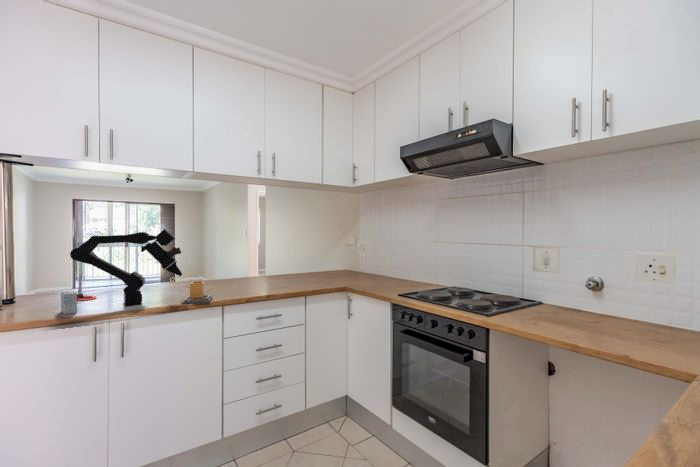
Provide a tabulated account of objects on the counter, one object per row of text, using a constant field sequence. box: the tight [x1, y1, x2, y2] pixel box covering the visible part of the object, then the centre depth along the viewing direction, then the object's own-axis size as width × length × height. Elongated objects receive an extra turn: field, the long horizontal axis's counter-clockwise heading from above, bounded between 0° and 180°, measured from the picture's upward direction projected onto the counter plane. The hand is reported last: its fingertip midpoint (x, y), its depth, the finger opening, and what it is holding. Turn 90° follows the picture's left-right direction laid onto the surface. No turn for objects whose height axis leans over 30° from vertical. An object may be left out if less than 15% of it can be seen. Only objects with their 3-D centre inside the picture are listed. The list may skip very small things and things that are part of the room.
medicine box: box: [60, 290, 78, 315], centre depth 140 cm, size 8×4×9 cm, turn 48°
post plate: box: [180, 294, 213, 305], centre depth 165 cm, size 12×12×5 cm
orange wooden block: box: [189, 280, 206, 299], centre depth 165 cm, size 6×6×8 cm
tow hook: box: [77, 273, 97, 302], centre depth 165 cm, size 8×13×9 cm
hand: (181, 274), depth 163 cm, fingers open, 9 cm apart
